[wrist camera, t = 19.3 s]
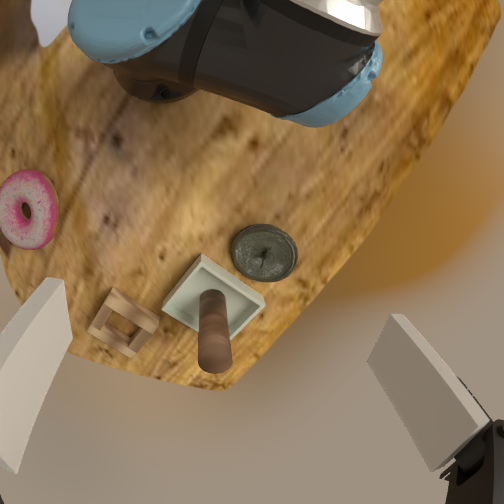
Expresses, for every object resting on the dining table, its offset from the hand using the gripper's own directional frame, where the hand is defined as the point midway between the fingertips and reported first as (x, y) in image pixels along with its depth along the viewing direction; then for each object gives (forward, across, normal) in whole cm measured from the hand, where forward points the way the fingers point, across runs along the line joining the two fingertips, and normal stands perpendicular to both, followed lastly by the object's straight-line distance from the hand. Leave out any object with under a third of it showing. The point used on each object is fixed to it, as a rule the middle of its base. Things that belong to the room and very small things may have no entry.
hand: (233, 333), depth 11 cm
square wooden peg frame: (+35, -13, -27) cm, 46 cm away
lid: (+35, +9, -10) cm, 37 cm away
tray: (+35, +2, -20) cm, 40 cm away
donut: (+35, -31, -8) cm, 47 cm away
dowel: (+34, +2, -20) cm, 40 cm away
